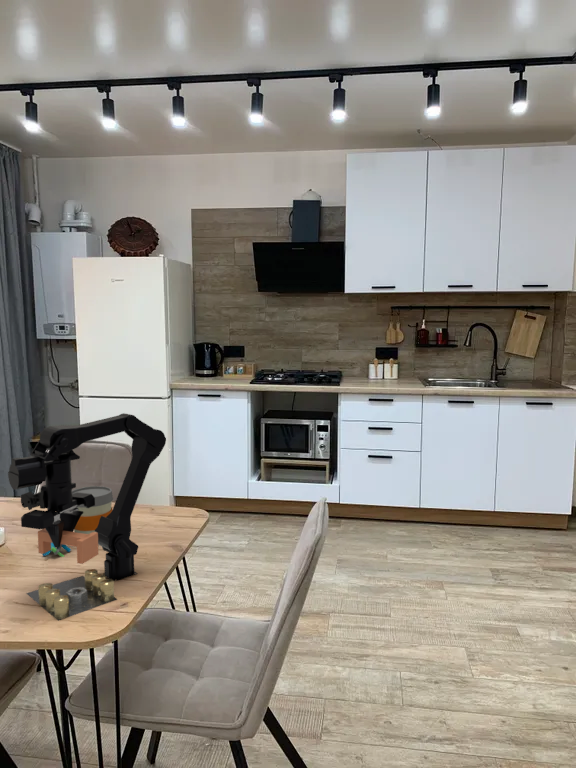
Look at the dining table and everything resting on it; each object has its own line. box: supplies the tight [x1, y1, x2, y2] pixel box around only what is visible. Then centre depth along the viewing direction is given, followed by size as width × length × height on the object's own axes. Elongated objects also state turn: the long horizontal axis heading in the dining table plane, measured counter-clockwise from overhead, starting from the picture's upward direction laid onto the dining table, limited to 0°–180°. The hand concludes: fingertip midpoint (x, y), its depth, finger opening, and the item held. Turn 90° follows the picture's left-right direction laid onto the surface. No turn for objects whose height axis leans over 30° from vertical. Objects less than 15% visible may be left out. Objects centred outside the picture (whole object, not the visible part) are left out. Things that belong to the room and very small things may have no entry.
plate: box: [25, 568, 118, 622], centre depth 138 cm, size 14×18×5 cm
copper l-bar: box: [37, 528, 99, 565], centre depth 138 cm, size 6×14×5 cm, turn 71°
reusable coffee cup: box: [72, 485, 114, 546], centre depth 174 cm, size 13×13×15 cm
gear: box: [41, 543, 72, 558], centre depth 165 cm, size 11×6×10 cm
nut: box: [66, 587, 88, 605], centre depth 136 cm, size 4×5×2 cm
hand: (61, 545), depth 138 cm, fingers closed on copper l-bar, 3 cm apart
